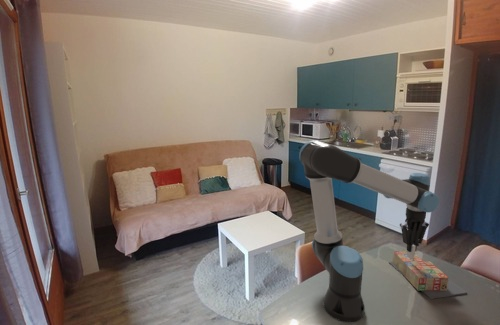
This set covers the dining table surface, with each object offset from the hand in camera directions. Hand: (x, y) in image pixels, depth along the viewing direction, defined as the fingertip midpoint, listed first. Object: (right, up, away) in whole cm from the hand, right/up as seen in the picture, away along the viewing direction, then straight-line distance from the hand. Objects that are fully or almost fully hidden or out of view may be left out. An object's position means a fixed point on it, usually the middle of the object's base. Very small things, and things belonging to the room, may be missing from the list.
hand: (410, 257), depth 123 cm
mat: (+7, -9, +1) cm, 12 cm away
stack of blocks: (-3, -6, +1) cm, 6 cm away
